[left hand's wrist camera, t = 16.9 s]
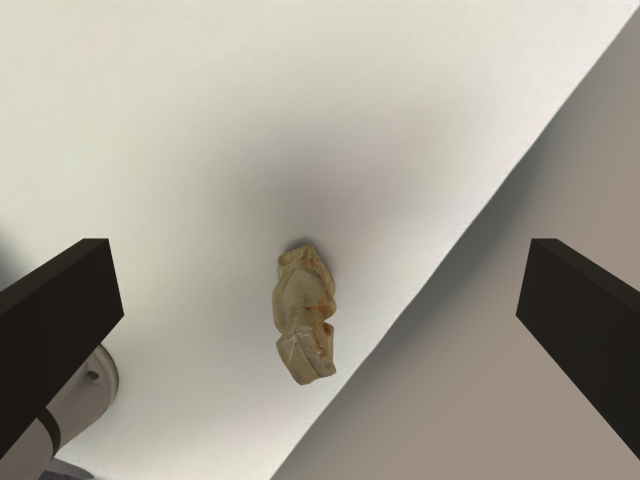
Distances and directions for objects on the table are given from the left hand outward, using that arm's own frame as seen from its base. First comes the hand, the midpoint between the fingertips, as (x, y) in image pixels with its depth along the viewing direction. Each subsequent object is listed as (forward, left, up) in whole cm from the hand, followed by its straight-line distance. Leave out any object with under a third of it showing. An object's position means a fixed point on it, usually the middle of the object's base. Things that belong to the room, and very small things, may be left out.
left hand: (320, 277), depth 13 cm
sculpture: (-12, -5, -28) cm, 31 cm away
